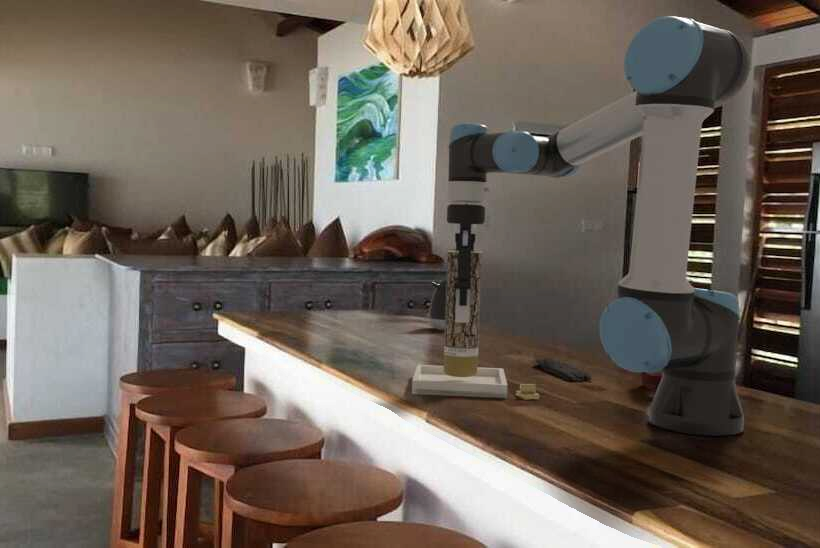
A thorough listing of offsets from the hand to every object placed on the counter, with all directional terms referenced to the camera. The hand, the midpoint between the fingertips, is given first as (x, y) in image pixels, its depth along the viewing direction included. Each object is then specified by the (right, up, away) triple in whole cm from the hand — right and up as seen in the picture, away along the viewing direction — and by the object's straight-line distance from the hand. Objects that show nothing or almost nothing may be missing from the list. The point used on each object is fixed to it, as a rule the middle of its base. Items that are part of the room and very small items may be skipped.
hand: (462, 319), depth 170 cm
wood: (+24, -14, +21) cm, 34 cm away
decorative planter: (+43, -15, +5) cm, 46 cm away
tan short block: (+12, -15, -7) cm, 20 cm away
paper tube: (0, -11, +1) cm, 11 cm away
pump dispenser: (0, -8, +88) cm, 88 cm away
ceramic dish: (0, -13, +1) cm, 13 cm away
